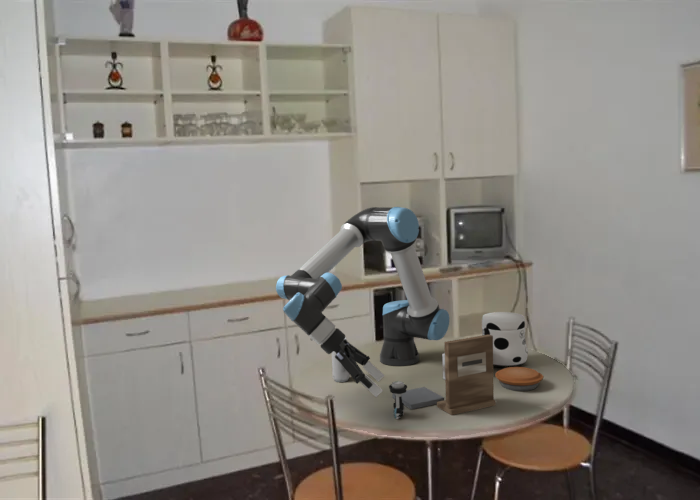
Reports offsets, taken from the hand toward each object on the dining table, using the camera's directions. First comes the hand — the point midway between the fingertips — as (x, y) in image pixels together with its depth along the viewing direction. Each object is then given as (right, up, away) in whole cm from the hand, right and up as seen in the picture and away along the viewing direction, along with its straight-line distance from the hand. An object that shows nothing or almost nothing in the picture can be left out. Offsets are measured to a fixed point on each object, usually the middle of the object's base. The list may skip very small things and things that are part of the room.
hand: (380, 385), depth 184 cm
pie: (+47, -5, +25) cm, 54 cm away
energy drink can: (-12, -6, +37) cm, 40 cm away
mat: (+13, -8, +15) cm, 21 cm away
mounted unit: (+27, -8, +8) cm, 29 cm away
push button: (+5, -10, +1) cm, 11 cm away
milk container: (+48, -3, +49) cm, 69 cm away
